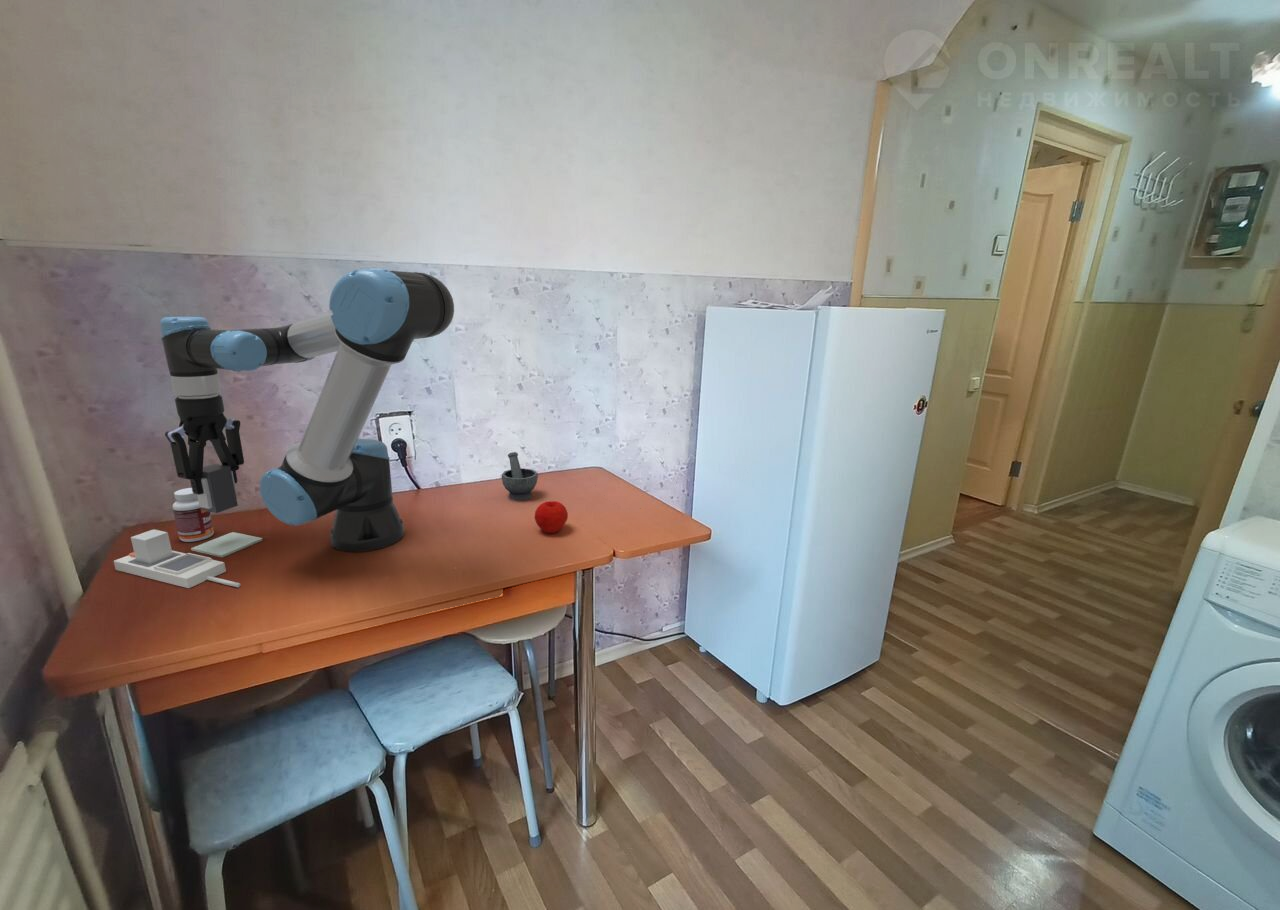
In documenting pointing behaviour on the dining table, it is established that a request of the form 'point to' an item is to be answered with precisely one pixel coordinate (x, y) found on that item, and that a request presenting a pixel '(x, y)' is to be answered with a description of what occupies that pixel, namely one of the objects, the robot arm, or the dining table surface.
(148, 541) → the strip
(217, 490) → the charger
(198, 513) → the pill bottle
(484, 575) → the dining table surface
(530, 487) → the mortar and pestle
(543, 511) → the apple
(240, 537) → the coaster
